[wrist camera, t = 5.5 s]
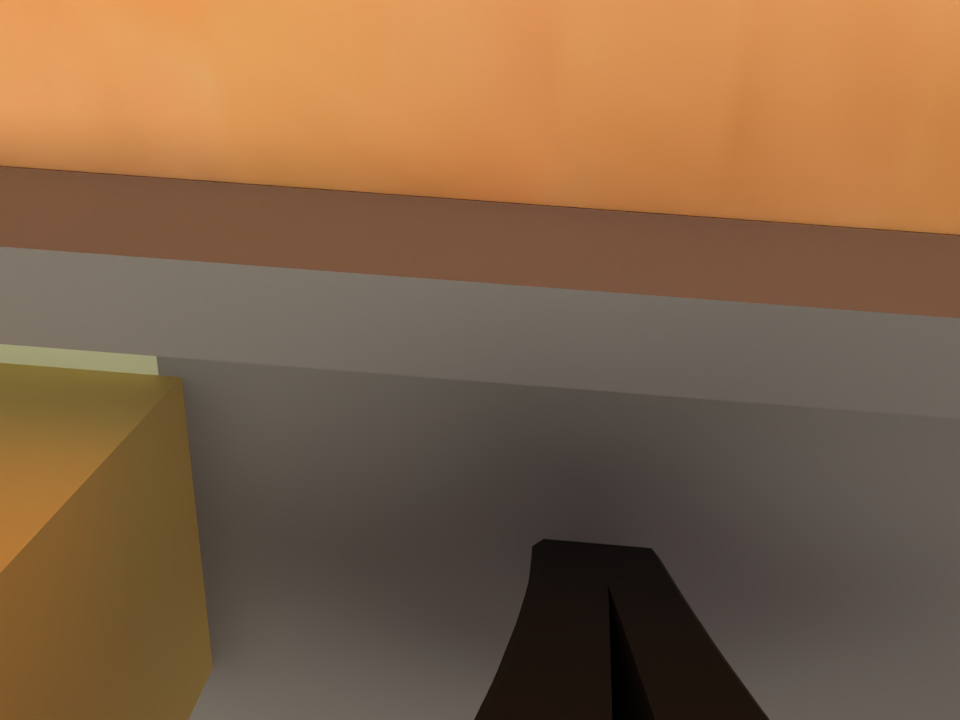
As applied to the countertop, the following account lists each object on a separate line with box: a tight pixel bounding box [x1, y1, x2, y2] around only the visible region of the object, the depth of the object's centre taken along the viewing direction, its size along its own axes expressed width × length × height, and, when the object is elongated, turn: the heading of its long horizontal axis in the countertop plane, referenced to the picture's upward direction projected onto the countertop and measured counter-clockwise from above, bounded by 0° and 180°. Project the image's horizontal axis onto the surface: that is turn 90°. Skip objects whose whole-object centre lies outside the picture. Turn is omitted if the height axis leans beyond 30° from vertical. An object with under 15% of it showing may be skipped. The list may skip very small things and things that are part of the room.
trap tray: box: [0, 166, 960, 720], centre depth 12 cm, size 20×14×3 cm
